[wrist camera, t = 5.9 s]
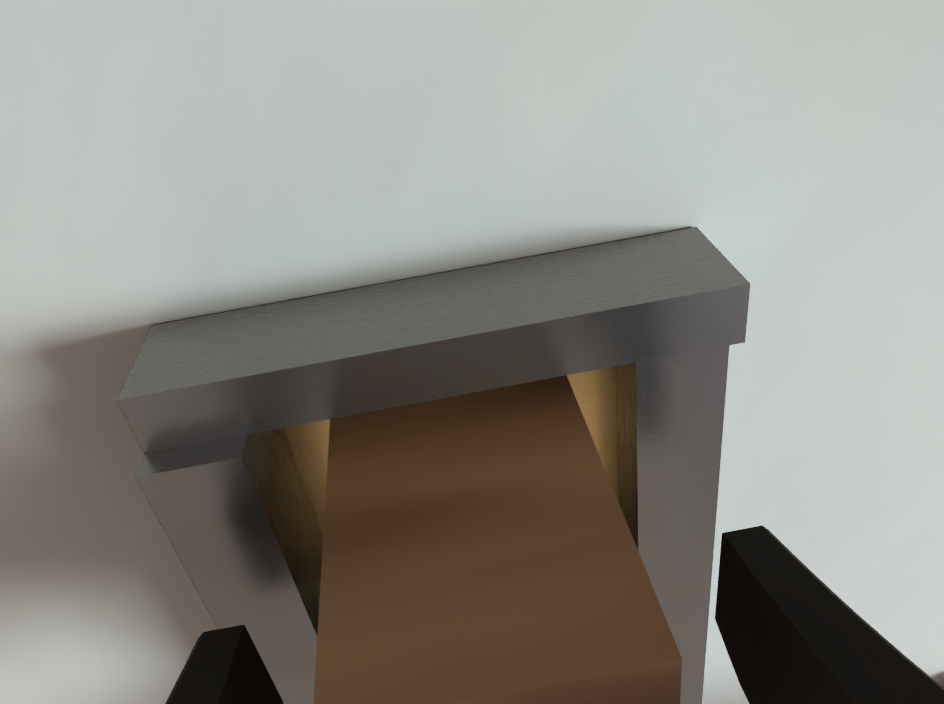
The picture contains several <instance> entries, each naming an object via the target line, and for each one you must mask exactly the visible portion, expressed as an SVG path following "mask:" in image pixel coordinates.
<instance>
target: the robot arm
mask: <svg viewBox="0 0 944 704" xmlns="http://www.w3.org/2000/svg"><path fill="white" fill-rule="evenodd" d="M715 619H716V622H717V625H718V627H719V630H720V633H721V635H722V638H723V641H724V643H725V646H726V649H727V652H728V654H729V657H730V659H731V662H732V665H733V667H734V670H735V672H736V675H737V677H738V680H739V682H740V685H741V687H742V689H743V691H744V693H745V695H746V697H747V699H748V701H749V703H750V704H944V688H943V687H942V686H941V685H939V684H938V683H937V682H936V681H934V680H933V679H932V678H931V677H929V676H928V675H927V674H926V673H925V672H923V671H922V670H921V669H920V668H919V667H917V666H916V665H915V664H914V663H913V662H912V661H910V660H909V659H908V658H907V657H906V656H904V655H903V654H902V653H901V652H900V651H899V650H897V649H896V648H895V647H894V646H893V645H892V644H891V643H889V642H888V641H887V640H886V639H885V638H884V637H883V636H881V635H880V634H879V633H878V632H877V631H876V630H875V629H873V628H872V627H871V626H870V625H869V624H868V623H866V622H865V621H864V620H863V619H862V618H861V617H860V616H859V615H857V614H856V613H855V612H854V611H853V610H852V609H851V608H850V607H849V606H848V605H846V604H845V603H844V602H843V601H842V600H841V599H840V598H839V597H838V596H837V595H836V594H835V593H833V592H832V591H831V590H830V589H829V588H828V587H827V586H826V585H825V584H824V583H823V582H822V581H821V580H819V579H818V578H817V577H816V576H815V575H814V574H813V573H812V572H811V571H810V570H809V569H808V568H807V567H806V566H805V565H804V564H803V563H802V562H801V561H800V560H799V559H798V558H796V557H795V556H794V555H793V554H792V553H791V552H790V551H789V550H788V549H787V548H786V547H785V546H784V545H783V544H782V543H781V542H780V541H779V540H778V539H777V538H776V537H775V536H774V535H773V534H772V533H771V532H770V531H769V530H768V529H766V528H765V527H763V526H758V527H753V528H748V529H742V530H737V531H732V532H727V533H722V542H721V554H720V566H719V578H718V590H717V603H716V615H715ZM165 704H283V700H282V698H281V696H280V694H279V692H278V690H277V688H276V686H275V684H274V682H273V680H272V678H271V676H270V674H269V672H268V670H267V668H266V666H265V664H264V662H263V660H262V659H261V657H260V655H259V653H258V651H257V649H256V647H255V645H254V643H253V641H252V639H251V637H250V635H249V633H248V631H247V629H246V627H245V625H239V626H233V627H228V628H223V629H218V630H212V631H207V632H203V633H202V635H201V636H200V637H199V638H198V640H197V642H196V644H195V646H194V648H193V650H192V652H191V654H190V656H189V658H188V660H187V662H186V664H185V666H184V668H183V670H182V672H181V674H180V676H179V678H178V680H177V682H176V684H175V686H174V688H173V690H172V692H171V694H170V696H169V698H168V700H167V702H166V703H165Z"/></svg>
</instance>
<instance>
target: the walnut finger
mask: <svg viewBox="0 0 944 704" xmlns="http://www.w3.org/2000/svg"><path fill="white" fill-rule="evenodd" d="M681 673H682V657H681V655H680V652H679V650H678V647H677V645H676V643H675V640H674V638H673V635H672V633H671V630H670V628H669V625H668V623H667V620H666V618H665V616H664V613H663V611H662V608H661V606H660V603H659V601H658V598H657V596H656V593H655V591H654V589H653V586H652V584H651V581H650V579H649V576H648V574H647V571H646V569H645V566H644V564H643V562H642V559H641V557H640V554H639V552H638V549H637V547H636V544H635V542H634V539H633V537H632V535H631V532H630V530H629V527H628V525H627V522H626V520H625V517H624V515H623V512H622V510H621V508H620V505H619V503H618V500H617V498H616V495H615V493H614V490H613V488H612V486H611V483H610V481H609V478H608V476H607V473H606V471H605V468H604V466H603V463H602V461H601V459H600V456H599V454H598V451H597V449H596V446H595V444H594V441H593V439H592V436H591V434H590V432H589V429H588V427H587V424H586V422H585V419H584V417H583V414H582V412H581V409H580V407H579V405H578V402H577V400H576V397H575V395H574V392H573V390H572V387H571V385H570V382H569V380H568V378H567V375H565V376H560V377H554V378H549V379H544V380H538V381H533V382H527V383H522V384H517V385H511V386H506V387H501V388H495V389H490V390H484V391H479V392H474V393H468V394H463V395H458V396H452V397H447V398H441V399H436V400H431V401H425V402H420V403H415V404H409V405H404V406H398V407H393V408H388V409H382V410H377V411H372V412H366V413H361V414H355V415H350V416H345V417H339V418H334V419H330V430H329V447H328V464H327V481H326V498H325V515H324V532H323V549H322V566H321V583H320V600H319V617H318V634H317V651H316V668H315V685H314V702H313V704H680V694H681Z"/></svg>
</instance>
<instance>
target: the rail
mask: <svg viewBox="0 0 944 704" xmlns="http://www.w3.org/2000/svg"><path fill="white" fill-rule="evenodd" d="M749 290H750V283H749V282H748V281H747V280H746V279H745V278H744V277H743V276H742V275H741V274H740V273H739V272H738V270H737V269H736V268H735V267H734V266H733V265H732V264H731V263H730V262H729V261H728V260H727V259H726V258H725V257H724V256H723V255H722V254H721V252H720V251H719V250H718V249H717V248H716V247H715V246H714V245H713V244H712V243H711V242H710V241H709V240H708V239H707V238H706V237H705V236H704V235H703V233H702V232H701V231H700V230H699V229H698V228H697V227H693V228H688V229H682V230H676V231H671V232H665V233H660V234H654V235H649V236H643V237H638V238H632V239H627V240H621V241H616V242H610V243H605V244H599V245H594V246H588V247H582V248H577V249H571V250H566V251H560V252H555V253H549V254H544V255H538V256H533V257H527V258H522V259H516V260H511V261H505V262H500V263H494V264H489V265H483V266H477V267H472V268H466V269H461V270H455V271H450V272H444V273H439V274H433V275H428V276H422V277H417V278H411V279H406V280H400V281H395V282H389V283H383V284H378V285H372V286H367V287H361V288H356V289H350V290H345V291H339V292H334V293H328V294H323V295H317V296H312V297H306V298H301V299H295V300H289V301H284V302H278V303H273V304H267V305H262V306H256V307H251V308H245V309H240V310H234V311H229V312H223V313H218V314H212V315H207V316H201V317H195V318H190V319H184V320H179V321H173V322H168V323H162V324H157V325H151V327H150V329H149V331H148V333H147V336H146V338H145V340H144V342H143V344H142V346H141V348H140V351H139V353H138V355H137V357H136V359H135V361H134V363H133V366H132V368H131V370H130V372H129V374H128V376H127V378H126V381H125V383H124V385H123V387H122V389H121V391H120V393H119V396H118V398H117V402H118V404H119V406H120V408H121V410H122V412H123V414H124V416H125V418H126V420H127V422H128V423H129V425H130V427H131V429H132V431H133V433H134V435H135V437H136V439H137V441H138V443H139V445H140V446H141V448H142V450H143V452H144V456H143V459H142V461H141V464H140V467H139V469H138V472H137V475H136V479H137V481H138V483H139V485H140V487H141V489H142V490H143V492H144V494H145V496H146V498H147V500H148V501H149V503H150V505H151V507H152V509H153V511H154V512H155V514H156V516H157V518H158V520H159V522H160V523H161V525H162V527H163V529H164V531H165V533H166V535H167V536H168V538H169V540H170V542H171V544H172V546H173V547H174V549H175V551H176V553H177V555H178V557H179V558H180V560H181V562H182V564H183V566H184V568H185V569H186V571H187V573H188V575H189V577H190V579H191V580H192V582H193V584H194V586H195V588H196V590H197V592H198V593H199V595H200V597H201V599H202V601H203V603H204V604H205V606H206V608H207V610H208V612H209V614H210V615H211V617H212V619H213V621H214V623H215V625H216V626H217V628H218V629H223V628H228V627H233V626H239V625H245V627H246V629H247V631H248V633H249V635H250V637H251V639H252V641H253V643H254V645H255V647H256V649H257V651H258V653H259V655H260V657H261V659H262V660H263V662H264V664H265V666H266V668H267V670H268V672H269V674H270V676H271V678H272V680H273V682H274V684H275V686H276V688H277V690H278V692H279V694H280V696H281V698H282V700H283V704H313V702H314V685H315V668H316V651H317V634H318V617H319V600H320V583H321V566H322V549H323V532H324V515H325V498H326V481H327V464H328V447H329V430H330V419H334V418H339V417H345V416H350V415H355V414H361V413H366V412H372V411H377V410H382V409H388V408H393V407H398V406H404V405H409V404H415V403H420V402H425V401H431V400H436V399H441V398H447V397H452V396H458V395H463V394H468V393H474V392H479V391H484V390H490V389H495V388H501V387H506V386H511V385H517V384H522V383H527V382H533V381H538V380H544V379H549V378H554V377H560V376H565V375H567V378H568V380H569V382H570V385H571V387H572V390H573V392H574V395H575V397H576V400H577V402H578V405H579V407H580V409H581V412H582V414H583V417H584V419H585V422H586V424H587V427H588V429H589V432H590V434H591V436H592V439H593V441H594V444H595V446H596V449H597V451H598V454H599V456H600V459H601V461H602V463H603V466H604V468H605V471H606V473H607V476H608V478H609V481H610V483H611V486H612V488H613V490H614V493H615V495H616V498H617V500H618V503H619V505H620V508H621V510H622V512H623V515H624V517H625V520H626V522H627V525H628V527H629V530H630V532H631V535H632V537H633V539H634V542H635V544H636V547H637V549H638V552H639V554H640V557H641V559H642V562H643V564H644V566H645V569H646V571H647V574H648V576H649V579H650V581H651V584H652V586H653V589H654V591H655V593H656V596H657V598H658V601H659V603H660V606H661V608H662V611H663V613H664V616H665V618H666V620H667V623H668V625H669V628H670V630H671V633H672V635H673V638H674V640H675V643H676V645H677V647H678V650H679V652H680V655H681V657H682V673H681V694H680V704H702V692H703V679H704V666H705V653H706V640H707V627H708V614H709V601H710V588H711V575H712V562H713V549H714V536H715V523H716V510H717V497H718V484H719V471H720V458H721V445H722V432H723V419H724V406H725V393H726V380H727V367H728V353H729V345H732V344H737V343H742V342H745V334H746V323H747V312H748V301H749Z"/></svg>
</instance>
